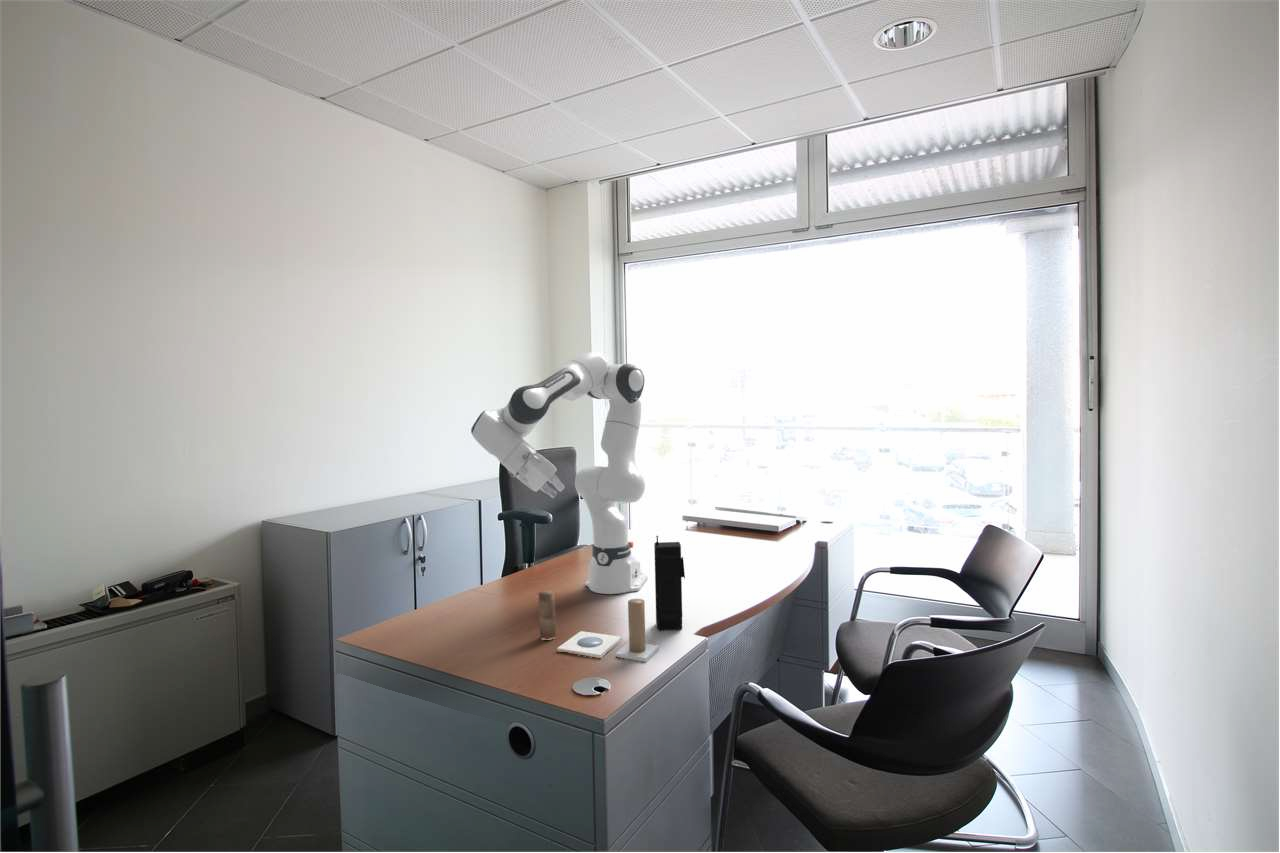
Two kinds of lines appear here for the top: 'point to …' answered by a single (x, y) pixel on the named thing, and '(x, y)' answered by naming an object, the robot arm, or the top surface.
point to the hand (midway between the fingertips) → (559, 492)
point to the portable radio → (668, 585)
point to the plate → (590, 643)
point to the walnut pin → (547, 614)
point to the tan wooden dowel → (637, 634)
